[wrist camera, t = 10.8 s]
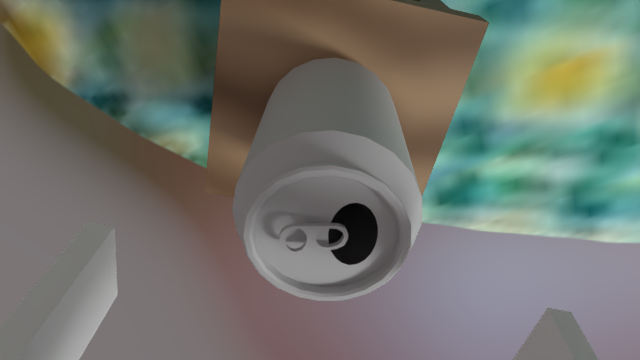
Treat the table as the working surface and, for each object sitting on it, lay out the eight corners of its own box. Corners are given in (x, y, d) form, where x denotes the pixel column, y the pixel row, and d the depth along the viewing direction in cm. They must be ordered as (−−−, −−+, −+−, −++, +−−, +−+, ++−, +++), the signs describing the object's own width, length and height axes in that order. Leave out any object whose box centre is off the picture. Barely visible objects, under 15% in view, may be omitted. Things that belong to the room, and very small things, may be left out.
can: (385, 175, 28) (412, 323, 18) (268, 167, 28) (227, 311, 18) (403, 57, 24) (451, 160, 14) (267, 48, 24) (216, 144, 14)
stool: (256, -51, 31) (224, -38, 22) (448, -6, 32) (489, 22, 23) (235, 129, 38) (204, 191, 29) (393, 161, 39) (408, 230, 30)
